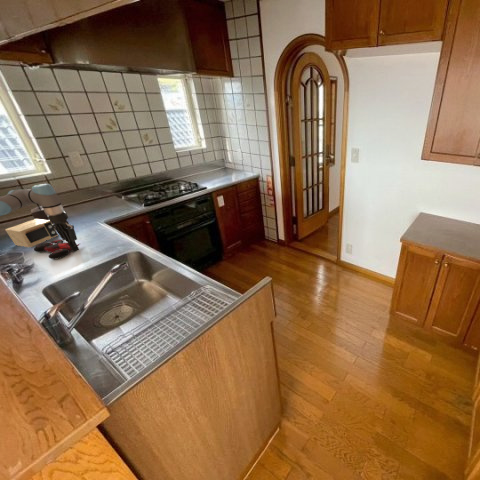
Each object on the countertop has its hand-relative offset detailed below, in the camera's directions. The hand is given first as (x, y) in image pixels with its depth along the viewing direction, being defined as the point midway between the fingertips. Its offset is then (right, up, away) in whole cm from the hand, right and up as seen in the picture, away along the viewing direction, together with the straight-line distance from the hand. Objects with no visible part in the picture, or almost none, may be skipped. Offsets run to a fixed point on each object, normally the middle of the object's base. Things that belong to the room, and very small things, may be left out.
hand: (76, 250), depth 152 cm
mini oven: (-38, +6, +14) cm, 41 cm away
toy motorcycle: (-12, 0, +3) cm, 13 cm away
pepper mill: (-58, +21, +42) cm, 75 cm away
